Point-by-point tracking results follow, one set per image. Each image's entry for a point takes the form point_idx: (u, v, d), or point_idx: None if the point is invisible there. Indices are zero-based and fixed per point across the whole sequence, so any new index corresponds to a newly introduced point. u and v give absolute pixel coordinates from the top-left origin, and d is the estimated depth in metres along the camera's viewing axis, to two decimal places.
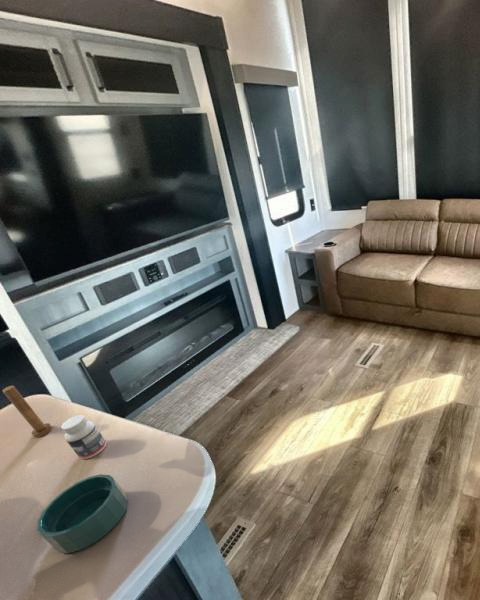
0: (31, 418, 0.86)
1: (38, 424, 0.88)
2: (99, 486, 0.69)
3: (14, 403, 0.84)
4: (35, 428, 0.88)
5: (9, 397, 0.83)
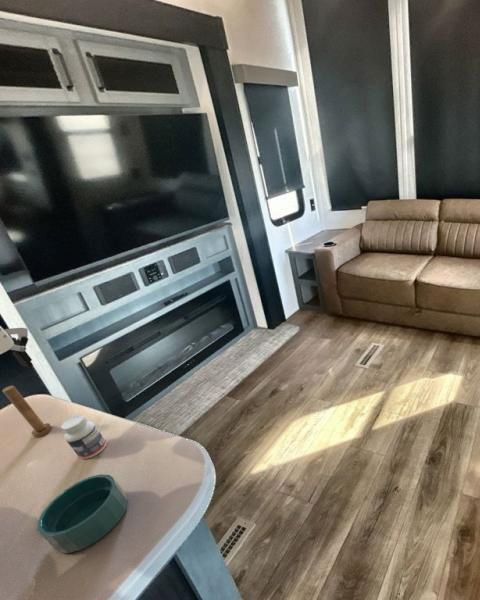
0: (31, 418, 0.86)
1: (38, 424, 0.88)
2: (99, 486, 0.69)
3: (14, 403, 0.84)
4: (35, 428, 0.88)
5: (9, 397, 0.83)
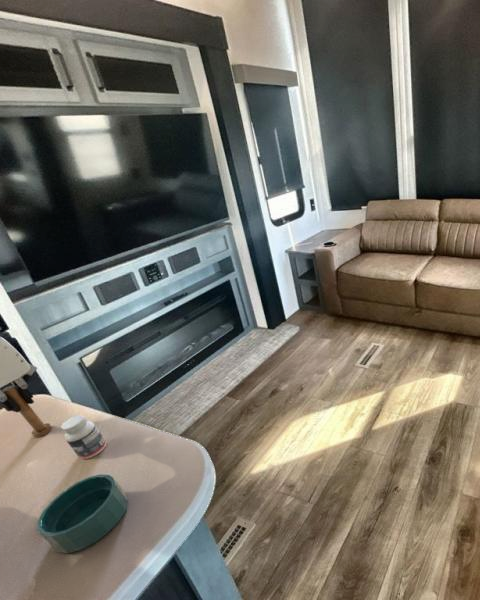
0: (31, 418, 0.86)
1: (38, 424, 0.88)
2: (99, 486, 0.69)
3: None
4: (35, 428, 0.88)
5: None
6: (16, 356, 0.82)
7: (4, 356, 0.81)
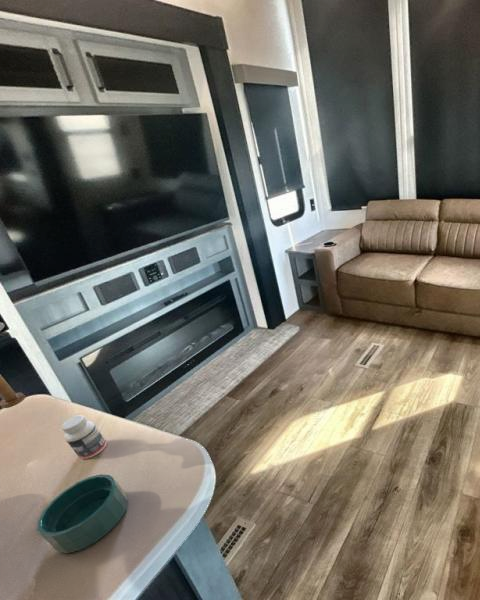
0: None
1: (7, 392, 0.74)
2: (99, 486, 0.69)
3: None
4: (4, 397, 0.73)
5: None
6: None
7: None
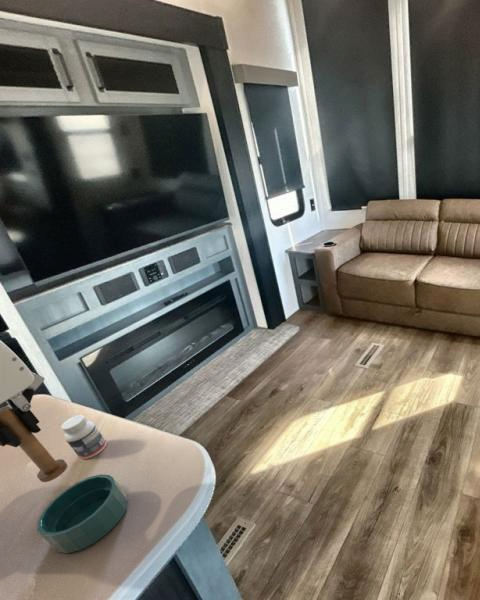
0: (37, 454, 0.57)
1: (47, 462, 0.59)
2: (99, 486, 0.69)
3: None
4: (43, 468, 0.59)
5: (3, 424, 0.54)
6: (13, 361, 0.53)
7: None
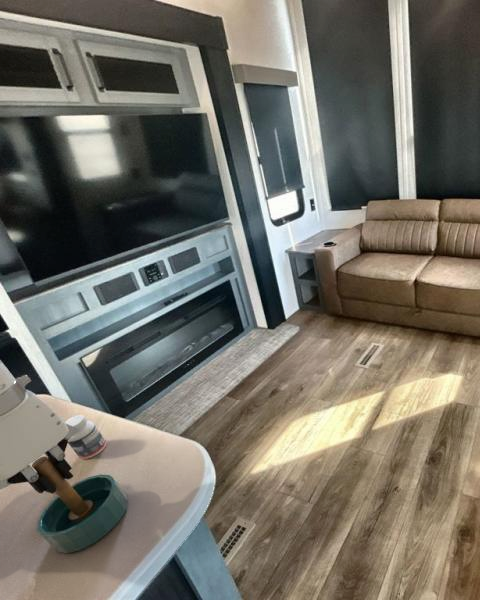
0: (69, 498, 0.63)
1: (77, 504, 0.64)
2: (99, 486, 0.69)
3: None
4: (74, 510, 0.64)
5: None
6: (51, 417, 0.59)
7: (36, 420, 0.57)
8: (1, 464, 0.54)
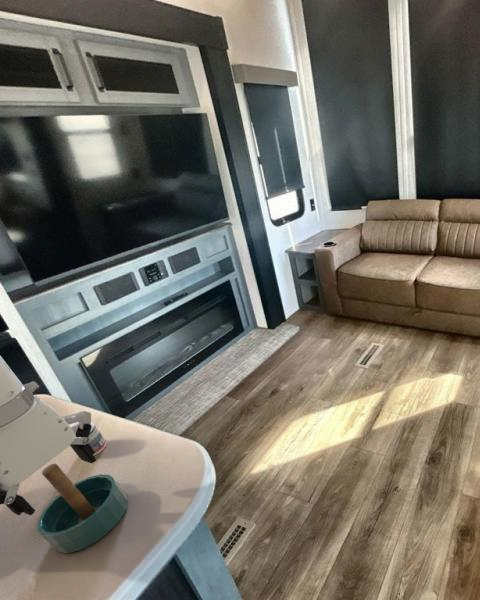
0: (79, 505, 0.63)
1: (87, 511, 0.64)
2: (99, 486, 0.69)
3: (57, 488, 0.61)
4: (83, 517, 0.64)
5: (51, 481, 0.60)
6: (59, 423, 0.59)
7: (44, 426, 0.57)
8: (9, 471, 0.53)
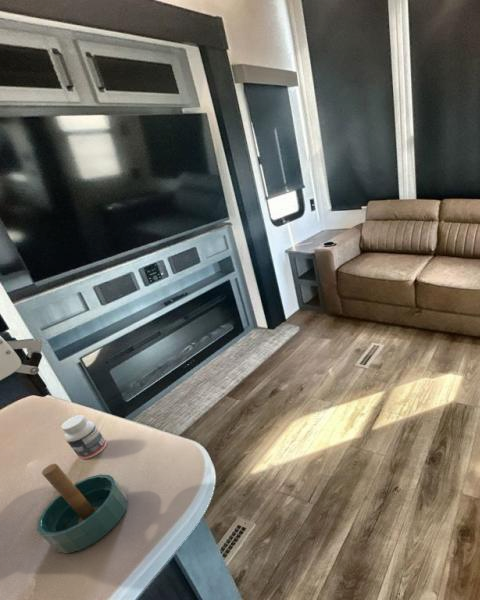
0: (79, 505, 0.63)
1: (87, 511, 0.64)
2: (99, 486, 0.69)
3: (57, 488, 0.61)
4: (83, 517, 0.64)
5: (51, 481, 0.60)
6: None
7: None
8: None
